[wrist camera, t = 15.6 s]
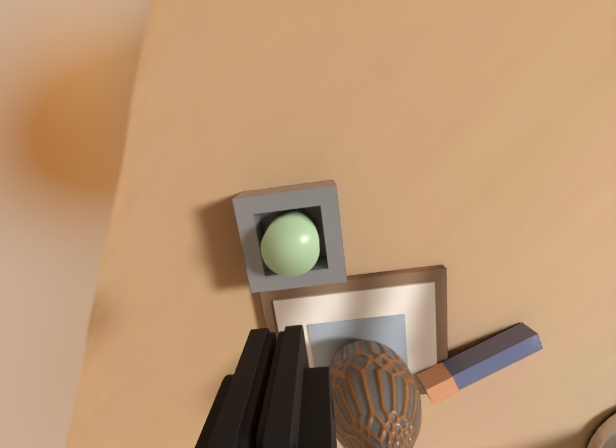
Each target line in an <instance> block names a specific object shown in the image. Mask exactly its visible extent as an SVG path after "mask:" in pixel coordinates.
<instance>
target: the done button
mask: <svg viewBox="0 0 616 448" xmlns="http://www.w3.org/2000/svg"><path fill="white" fill-rule="evenodd" d="M319 251H320V248H319V234H318V226H317V223H316V221H315V219H314V218H313V217H312V216H311V215H310V214H309V213H308V212H306V211H304V210H302V209H298V208H297V209H289V210H282V211H280V212H279V213H278V214H276V215H275V216H274V218H273V219H272V221H271V223H270V225H269V227H268V228H267V230H266V232H265V234H264V236H263V238H262V242H261V255H262V258H263V260H264V262H265V264H266V265H267V266H268V267H269V268H270V269H271V270H272V271H274V272H275V273H277V274H279V275H282V276H288V277H294V276H299V275H302V274H304V273H306V272H308V271H309V270H310V269H311V268H312V267H313V266H314V265H315V263H316V262H317V260H318V257H319Z"/></svg>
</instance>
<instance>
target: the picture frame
mask: <svg viewBox="0 0 616 448" xmlns="http://www.w3.org/2000/svg"><path fill="white" fill-rule="evenodd" d="M346 277H347V282H342V283H334V284H325V285H317V286H308V287H299V288H291V289H282V290H274V291H265V292H259V293H260V298H261V303H262V308H263V313H264V318H265V323H266V328H269V330H270V332H275V333H276V337H277V339H278V334H279V332H280V331H284V330H285V327H286V326H293V325H303V329H304V336H305V342H306V348H307V355H308V361H309V367H310V368H314V367H325V366H329V363H330V361H331V360H332V358H333V356H334V355H335V354H336V353H337V352H338V351H339V350H340V349H341V348H343V347H344V346H345V345H347V344H349V343H352V342H355V341H359V340H371V341H376V342H379V343H382V344H384V345H386V346H388V347H389V348H391V349H392V350H393V351H395V352H396V353H397V354H398V355H399V356H400V357H401V358H402V360H403V361H404V362H405V363H406V365H407V366H408V368H409V370H410V371H411V373H412V375H413V377H414V380H415V382H416V384H417V387H418V391H419V395H420V394H426V392H425V390H424V389H423V387H422V385H421V383H420V381H419V379H418V377H417V374H419V373H421V372H423V371H425V370H427V369H429V368H431V367H433V366H435V365H437V364H439V363H441V362H444V361H446V360H448V347H447V276H446V268H445V267H444V266H443V265H437V266H429V267H420V268H412V269H403V270H395V271H386V272H378V273H369V274H361V275H352V276H346Z"/></svg>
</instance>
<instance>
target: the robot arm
mask: <svg viewBox="0 0 616 448" xmlns="http://www.w3.org/2000/svg"><path fill="white" fill-rule="evenodd" d="M195 448H337V441H336V424H335V409H334V398H333V389H332V382H331V375H330V368H329V366H325V367H314V368H310V367H309V361H308V355H307V348H306V342H305V336H304V329H303V325H293V326H286V327H285V330H284V331H280V332H279V334H278V339H277V337H276V333H275V332H270V330H269V328H262V329H252V330H251V331H250V333H249V336H248V339H247V341H246V344H245V347H244V349H243V352H242V355H241V357H240V360H239V362H238V365H237V368H236V370H235V373H234V374H233V375H227V376H225V377H224V379H223V381H222V383H221V386H220V388H219V391H218V393H217V395H216V398H215V400H214V403H213V405H212V407H211V410H210V412H209V415H208V417H207V420H206V422H205V424H204V427H203V429H202V432H201V434H200V436H199V439H198V441H197V444H196V446H195ZM587 448H616V413H615V414H614V415H612V416H611V417H609V418H608V419H607V420H606V421H605V422H604V423H603V424H602V425H601V426H600V427H599V428H598V429H597V431H596V432H595V433H594V435H593V436H592V438H591V440H590V442H589V444H588V447H587Z"/></svg>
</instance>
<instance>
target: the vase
mask: <svg viewBox="0 0 616 448" xmlns="http://www.w3.org/2000/svg"><path fill="white" fill-rule="evenodd" d="M329 368H330V375H331V382H332V389H333V398H334V409H335V424H336V438H337V440H338V441H339V442H340V444H341V445H342V446H343V447H344V448H413V446H414V444H415V442H416V439H417V437H418V434H419V431H420V427H421V419H422V410H421V400H420V395H419V391H418V387H417V384H416V382H415V380H414V377H413V375H412V373H411V371H410V370H409V368H408V366H407V365H406V363H405V362H404V361H403V360H402V358H401V357H400V356H399V355H398V354H397V353H396V352H395V351H393V350H392V349H391V348H389V347H388V346H386V345H384V344H382V343H379V342H376V341H371V340H359V341H355V342H352V343H349V344H347V345H345V346H344V347H343V348H341V349H340V350H339V351H338V352H337V353H336V354H335V355H334V356H333V358H332V360H331V361H330V363H329Z"/></svg>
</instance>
